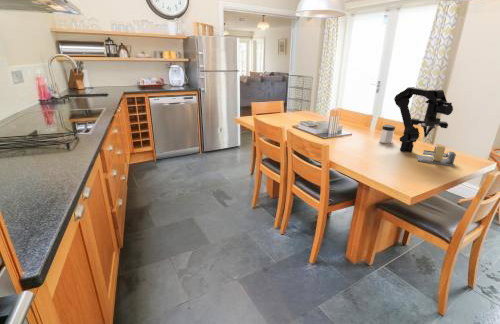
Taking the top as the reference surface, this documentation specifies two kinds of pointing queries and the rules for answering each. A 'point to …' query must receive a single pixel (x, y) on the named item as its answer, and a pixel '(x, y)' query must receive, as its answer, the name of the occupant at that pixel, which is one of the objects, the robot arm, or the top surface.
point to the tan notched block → (438, 152)
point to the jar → (387, 133)
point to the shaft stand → (427, 159)
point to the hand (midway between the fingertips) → (425, 136)
